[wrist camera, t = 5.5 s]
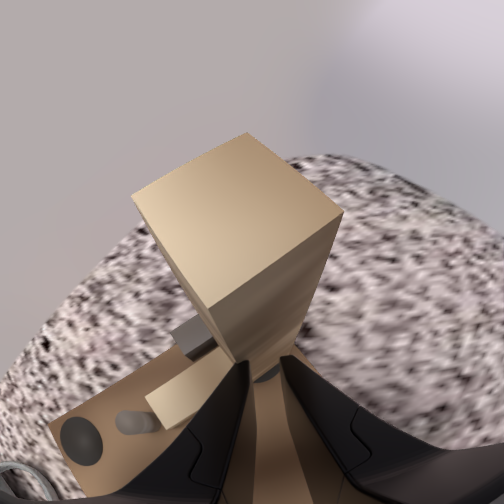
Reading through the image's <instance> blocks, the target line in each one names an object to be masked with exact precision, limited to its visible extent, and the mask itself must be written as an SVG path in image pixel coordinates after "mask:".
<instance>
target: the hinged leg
mask: <svg viewBox="0 0 504 504" xmlns="http://www.w3.org/2000/svg"><path fill="white" fill-rule="evenodd" d="M131 197H132V199H133V201H134V203H135V205H136V207H137V209H138V211H139V212H140V214H141V216H142V218H143V220H144V222H145V224H146V226H147V227H148V229H149V231H150V233H151V235H152V236H153V238H154V240H155V242H156V244H157V245H158V247H159V249H160V251H161V253H162V254H163V256H164V258H165V260H166V261H167V263H168V265H169V266H170V268H171V270H172V272H173V273H174V275H175V277H176V278H177V280H178V282H179V283H180V285H181V287H182V288H183V290H184V292H185V293H186V295H187V297H188V298H189V300H190V301H191V303H192V305H193V306H194V308H195V309H196V311H197V313H198V314H199V316H200V317H201V319H202V321H203V322H204V324H205V325H206V327H207V328H208V330H209V331H210V333H211V334H212V336H213V338H214V339H215V341H216V342H217V344H218V345H219V347H218V348H216V349H215V350H214V351H212V352H211V353H209V354H208V355H206V356H205V357H204V358H202V359H201V360H199V361H198V362H196V363H195V364H193V365H192V366H190V367H189V368H188V369H186V370H185V371H183V372H182V373H180V374H179V375H177V376H176V377H174V378H173V379H171V380H170V381H168V382H167V383H165V384H163V385H162V386H160V387H159V388H157V389H156V390H154V391H153V392H151V393H150V394H148V395H147V396H145V398H146V400H147V402H148V403H149V405H150V406H151V408H152V409H153V411H154V412H155V414H156V415H157V417H158V418H159V420H160V421H161V423H162V424H163V426H164V427H165V429H166V430H169V429H174V428H175V427H177V426H179V425H180V424H182V423H183V422H185V421H187V420H188V419H190V418H191V417H193V416H194V415H195V414H196V413H197V411H198V410H199V409H200V408H201V406H202V405H203V404H204V402H205V401H206V400H207V399H208V397H209V396H210V395H211V393H212V392H213V391H214V390H215V388H216V387H217V386H218V384H219V383H220V382H221V380H222V379H223V378H224V376H225V375H226V374H227V372H228V371H229V370H230V368H231V367H232V366H233V364H234V363H235V362H236V363H237V364H238V363H240V362H242V361H244V360H249V361H250V365H251V372H252V380H253V382H254V381H255V380H257V379H258V378H259V377H261V376H262V375H263V374H265V373H266V372H267V371H269V370H270V369H271V368H273V367H274V366H275V365H276V364H278V363H279V358H280V356H285V355H289V353H290V351H291V349H292V346H293V344H294V342H295V339H296V337H297V335H298V332H299V330H300V328H301V325H302V323H303V320H304V318H305V316H306V313H307V311H308V308H309V306H310V303H311V301H312V298H313V296H314V293H315V291H316V288H317V285H318V283H319V280H320V278H321V275H322V272H323V270H324V267H325V264H326V262H327V259H328V256H329V253H330V251H331V248H332V245H333V242H334V239H335V237H336V234H337V231H338V228H339V225H340V222H341V219H342V216H343V213H344V211H343V210H342V209H341V208H340V207H339V206H338V205H337V204H335V203H334V202H333V201H332V200H331V199H330V198H329V197H327V196H326V195H325V194H324V193H323V192H322V191H320V190H319V189H318V188H317V187H316V186H314V185H313V184H312V183H311V182H310V181H308V180H307V179H306V178H305V177H304V176H302V175H301V174H300V173H299V172H298V171H296V170H295V169H294V168H293V167H291V166H290V165H289V164H288V163H286V162H285V161H284V160H283V159H281V158H280V157H278V156H277V155H276V154H275V153H273V152H272V151H271V150H270V149H268V148H267V147H266V146H264V145H263V144H261V143H260V142H259V141H258V140H257V139H255V138H254V137H252V136H251V135H250V134H248V133H244V134H243V135H241V136H238V137H236V138H234V139H232V140H230V141H228V142H226V143H224V144H222V145H220V146H218V147H216V148H214V149H212V150H210V151H209V152H207V153H205V154H203V155H201V156H199V157H197V158H195V159H193V160H191V161H190V162H188V163H186V164H184V165H183V166H180V167H179V168H177V169H175V170H173V171H172V172H170V173H168V174H166V175H165V176H163V177H161V178H159V179H158V180H156V181H154V182H153V183H151V184H149V185H148V186H146V187H145V188H143V189H141V190H140V191H138V192H136V193H135V194H133V195H131Z"/></svg>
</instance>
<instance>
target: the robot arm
mask: <svg viewBox="0 0 504 504" xmlns="http://www.w3.org/2000/svg"><path fill="white" fill-rule="evenodd" d="M279 364H280V377H281V385H282V392H283V398H284V404H285V411H286V417H287V422H288V426H289V430H290V433H291V436H292V439H293V442H294V445H295V449H296V452H297V455H298V458H299V461H300V464H301V467H302V470H303V473H304V477H305V480H306V483H307V486H308V489H309V492H310V495H311V498H312V501H313V504H504V443H499V444H494V445H488V446H482V447H476V448H469V449H462V450H446V449H441V448H438V447H435V446H433V445H430V444H428V443H426V442H424V441H422V440H420V439H418V438H416V437H413V436H411V435H409V434H407V433H405V432H403V431H401V430H399V429H397V428H396V427H394V426H392V425H390V424H388V423H386V422H385V421H383V420H381V419H380V418H378V417H377V416H375V415H374V414H372V413H371V412H369V411H368V410H366V409H365V408H363V407H362V406H360V405H359V404H358V403H356V402H355V401H354V400H352V399H351V398H349V397H348V396H347V395H345V394H344V393H343V392H341V391H340V390H339V389H337V388H336V387H335V386H333V385H332V384H331V383H329V382H328V381H327V380H325V379H324V378H323V377H321V376H320V375H319V374H317V373H316V372H315V371H313V370H312V369H311V368H309V367H308V366H307V365H306V364H304V363H303V362H302V361H300V360H299V359H298V358H297V357H295V356H294V355H285V356H280V358H279ZM256 441H257V420H256V409H255V399H254V388H253V380H252V372H251V365H250V361H249V360H244V361H242V362H240V363H238V364H237V363H236V362H235V363H234V364H233V366H232V367H231V368H230V370H229V371H228V372H227V374H226V375H225V376H224V378H223V379H222V380H221V382H220V383H219V384H218V386H217V387H216V388H215V390H214V391H213V392H212V393H211V395H210V396H209V397H208V399H207V400H206V401H205V402H204V404H203V405H202V406H201V408H200V409H199V410H198V411H197V413H196V414H195V415H194V416H193V418H192V419H191V420H190V421H189V423H188V424H187V425H186V427H185V428H184V429H183V430H182V431H181V432H180V434H179V435H178V436H177V437H176V438H175V440H174V441H173V442H172V443H171V444H170V445H169V446H168V447H167V448H166V449H165V450H164V451H163V452H162V453H161V454H160V455H159V456H158V457H157V458H156V459H155V460H154V461H153V462H152V463H150V464H149V465H148V466H147V467H146V468H145V469H144V470H142V471H141V472H140V473H139V474H138V475H137V476H136V477H134V478H133V479H132V480H131V481H130V482H128V483H127V484H126V485H125V486H123V487H122V488H120V489H119V490H117V491H115V492H113V493H110V494H107V495H102V496H95V497H88V498H79V499H68V500H54V501H32V500H25V499H21V498H17V497H15V496H12V495H10V494H8V493H6V492H5V491H3V490H0V504H253V492H254V475H255V458H256Z"/></svg>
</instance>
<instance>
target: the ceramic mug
mask: <svg viewBox="0 0 504 504" xmlns="http://www.w3.org/2000/svg"><path fill="white" fill-rule="evenodd" d="M14 468H20V469H21V470H25V471H27V472H30V473H31V474H32V475H33V476H34V477H35V478H36V479H37V480H38V482H39V483H40V485H41V486H42V488H43V490H44V493H45V496H46V498H47V499H48V501H54V500H59V498H58V496H57V493H56V492H55V490H54V488H53V487H52V485H51V484H50V483H49V481H48V480H47V479H46V478H45V477H44V476H43V475H42V474H41V473H40V472H38V471H37V470H36V469H34V468H32V467H30V466H28V465H25V464H23V463H19V462H15V461H5V462H0V473H2V472H4V471H6V470H9V469H14ZM0 490H3V491H5V492H6V493H8V494H10V495H12V496H15V494H14V493H13V491H12V490H11V488H10V487H9V486H8V484H7V483H6V481H5V480H4V478H3V477H2V475H1V474H0ZM15 497H16V496H15Z"/></svg>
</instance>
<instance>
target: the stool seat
mask: <svg viewBox="0 0 504 504" xmlns="http://www.w3.org/2000/svg"><path fill="white" fill-rule="evenodd" d="M170 334H171V335H172V337H173V338H174V340H175V342H176V343H177V344H176V345H175V346H173V347H171V348H170V349H168V350H167V351H165V352H164V353H162V354H161V355H159V356H158V357H156V358H155V359H153V360H151V361H150V362H148V363H147V364H145V365H144V366H142V367H140V368H139V369H137V370H136V371H134V372H133V373H131V374H129V375H128V376H126V377H125V378H123V379H122V380H120V381H118V382H117V383H115V384H114V385H112V386H110V387H109V388H107V389H105V390H104V391H102V392H101V393H99V394H97V395H96V396H94V397H92V398H91V399H89V400H88V401H86V402H84V403H83V404H81V405H79V406H78V407H76V408H74V409H73V410H71V411H69V412H68V413H66V414H64V415H62V416H61V417H59V418H57V419H56V420H54V421H52V422H51V423H49V424H48V426H49V429H50V431H51V433H52V435H53V437H54V439H55V441H56V443H57V445H58V447H59V449H60V451H61V453H62V455H63V457H64V459H65V461H66V463H67V464H68V466H69V468H70V470H71V472H72V473H73V475H74V477H75V478H76V480H77V482H78V483H79V485H80V487H81V488H82V490H83V492H84V493H85V495H86V496H87V498H88V497H95V496H102V495H107V494H110V493H113V492H115V491H117V490H119V489H120V488H122V487H123V486H125V485H126V484H127V483H128V482H130V481H131V480H132V479H133V478H134V477H136V476H137V475H138V474H139V473H140V472H141V471H142V470H144V469H145V468H146V467H147V466H148V465H149V464H150V463H152V462H153V461H154V460H155V459H156V458H157V457H158V456H159V455H160V454H161V453H162V452H163V451H164V450H165V449H166V448H167V447H168V446H169V445H170V444H171V443H172V442H173V441H174V440H175V438H176V437H177V436H178V435H179V434H180V432H181V431H182V430H183V429H184V428H185V427H186V425H187V424H188V423H189V421H190V420H191V419H192V418H193V417H191V418H190V419H188V420H187V421H185V422H183V423H182V424H180V425H179V426H177V427H175V428H174V429H169V430H166V429H165V427H164V426H163V424H162V423H161V421H160V420H159V418H158V417H157V415H156V414H155V412H154V411H153V409H152V408H151V406H150V405H149V403H148V402H147V400H146V398H145V396H147V395H148V394H150V393H151V392H153V391H154V390H156V389H157V388H159V387H160V386H162V385H163V384H165V383H167V382H168V381H170V380H171V379H173V378H174V377H176V376H177V375H179V374H180V373H182V372H183V371H185V370H186V369H188V368H189V367H190V366H192V365H193V364H195V363H196V362H198V361H199V360H201V359H202V358H204V357H205V356H206V355H208V354H209V353H211V352H212V351H214V350H215V349H216V348H218V347H219V345H218V344H217V342H216V341H215V339H214V338H213V336H212V334H211V333H210V331H209V330H208V328H207V327H206V325H205V324H204V322H203V321H202V319H201V317H200V316H199V314H197V315H196V316H194V317H193V318H191V319H190V320H188V321H187V322H185V323H184V324H182V325H181V326H179V327H178V328H176V329H175V330H173V331H171V332H170ZM289 355H294V356H295V357H297V358H298V359H299V360H300V361H302V362H303V363H304V364H306V365H307V366H308V367H309V368H311V369H312V370H313V371H315V372H316V373H317V374H319V373H318V372H317V370H316V369H315V368H314V367H313V366H312V365H311V363H310V362H309V361H308V360H307V359H306V357H305V356H304V355H303V354H302V353H301V351H300V350H299V349H298V348H297V347H296V346H295V344H293V346H292V349H291V351H290V353H289ZM319 375H320V374H319ZM320 376H321V375H320ZM321 377H322V376H321ZM253 388H254V399H255V409H256V420H257V441H256V458H255V475H254V492H253V504H313V501H312V498H311V495H310V492H309V489H308V486H307V483H306V480H305V477H304V473H303V470H302V467H301V464H300V461H299V458H298V455H297V452H296V449H295V445H294V442H293V439H292V436H291V433H290V430H289V426H288V422H287V417H286V411H285V404H284V398H283V392H282V385H281V377H280V364H279V363H278V364H276V365H275V366H274V367H273V368H271V369H270V370H269V371H267V372H266V373H265V374H263V375H262V376H261V377H259V378H258V379H257V380H255V381H254V382H253Z"/></svg>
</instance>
